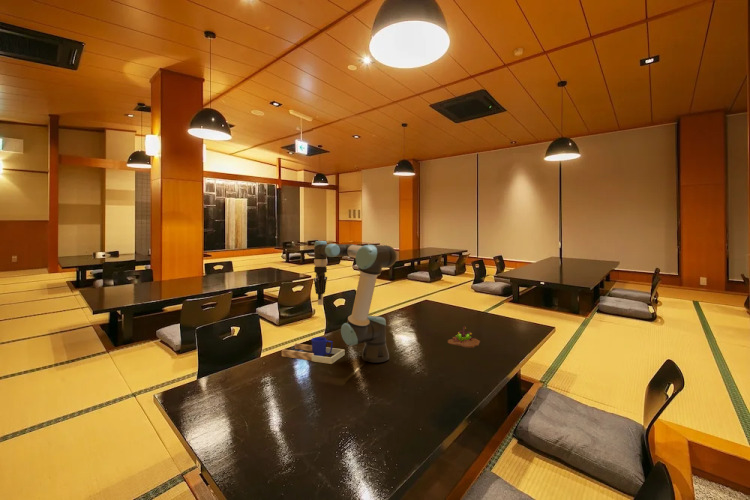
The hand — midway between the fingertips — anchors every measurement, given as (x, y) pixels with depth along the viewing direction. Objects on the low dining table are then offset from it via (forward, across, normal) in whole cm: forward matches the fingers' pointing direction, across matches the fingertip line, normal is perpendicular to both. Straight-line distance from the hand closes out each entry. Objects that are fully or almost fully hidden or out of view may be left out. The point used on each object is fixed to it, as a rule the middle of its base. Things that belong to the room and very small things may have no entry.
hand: (320, 304), depth 198 cm
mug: (+27, +15, +10) cm, 32 cm away
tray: (+26, +15, +14) cm, 33 cm away
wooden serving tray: (+26, +15, -2) cm, 30 cm away
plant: (+27, -40, +82) cm, 95 cm away
